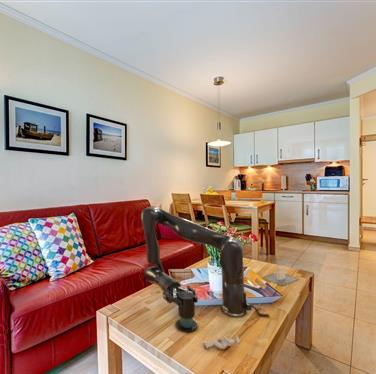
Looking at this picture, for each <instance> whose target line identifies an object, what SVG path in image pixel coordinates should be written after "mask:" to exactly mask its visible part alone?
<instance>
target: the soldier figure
mask: <svg viewBox="0 0 376 374" xmlns="http://www.w3.org/2000/svg"><path fill="white" fill-rule="evenodd" d="M220 336H221V337H223V338H224V339H222V338H221V337H219V338H218V340H219V341H220V342H219V341H217V340H212V341H211V342H208V343H207V342H206V340H204V342H203V344H204V346H205V349H208V348H210V347H213V346H215V347H216V348H218V349H220V350H225V349H226V348H227V347H231V346H233V345H234V343H236V344H237V345H239V344H240V337H239V336H238V335H236V334H235V337H234V338H227V337H226V335H224V334H223V333H220Z"/></svg>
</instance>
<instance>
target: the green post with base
mask: <svg viewBox="0 0 376 374" xmlns="http://www.w3.org/2000/svg"><path fill="white" fill-rule="evenodd" d="M175 327H176V328H177V329H178V330H179V331H181V332H183V333H193V332H195V331H196V330H197V329H198V325H197V322H196V321H195V320H194V317H193V318H190V319H185V318H182V317H180V316H179V319H178V320H177V321H176V326H175Z"/></svg>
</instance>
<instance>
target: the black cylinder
mask: <svg viewBox="0 0 376 374" xmlns="http://www.w3.org/2000/svg"><path fill="white" fill-rule="evenodd" d="M178 299H180V300H181V301H182V307H180V306H178V305H177V314H178V316H179V318H180V317H182V318H185V319H190V318H193V319H194V318H195V315H196V307H195V306H196V305H195V301H194V294H193V293H191V292H187V291H183V292H180V293H178Z"/></svg>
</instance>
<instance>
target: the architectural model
mask: <svg viewBox="0 0 376 374" xmlns="http://www.w3.org/2000/svg"><path fill="white" fill-rule="evenodd" d="M263 279H264V280H266V281H270V282H272V283H274V284H278V285H280V286H285V285H288V284H290V283H292V282H295V281H298V278H295V277H292V276H289V275H286V266H285V265H283V266H282V265H279V266H278V267H277V269H276V270H275V271H273V274H270V275H268V276H265V277H264V278H263Z"/></svg>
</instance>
